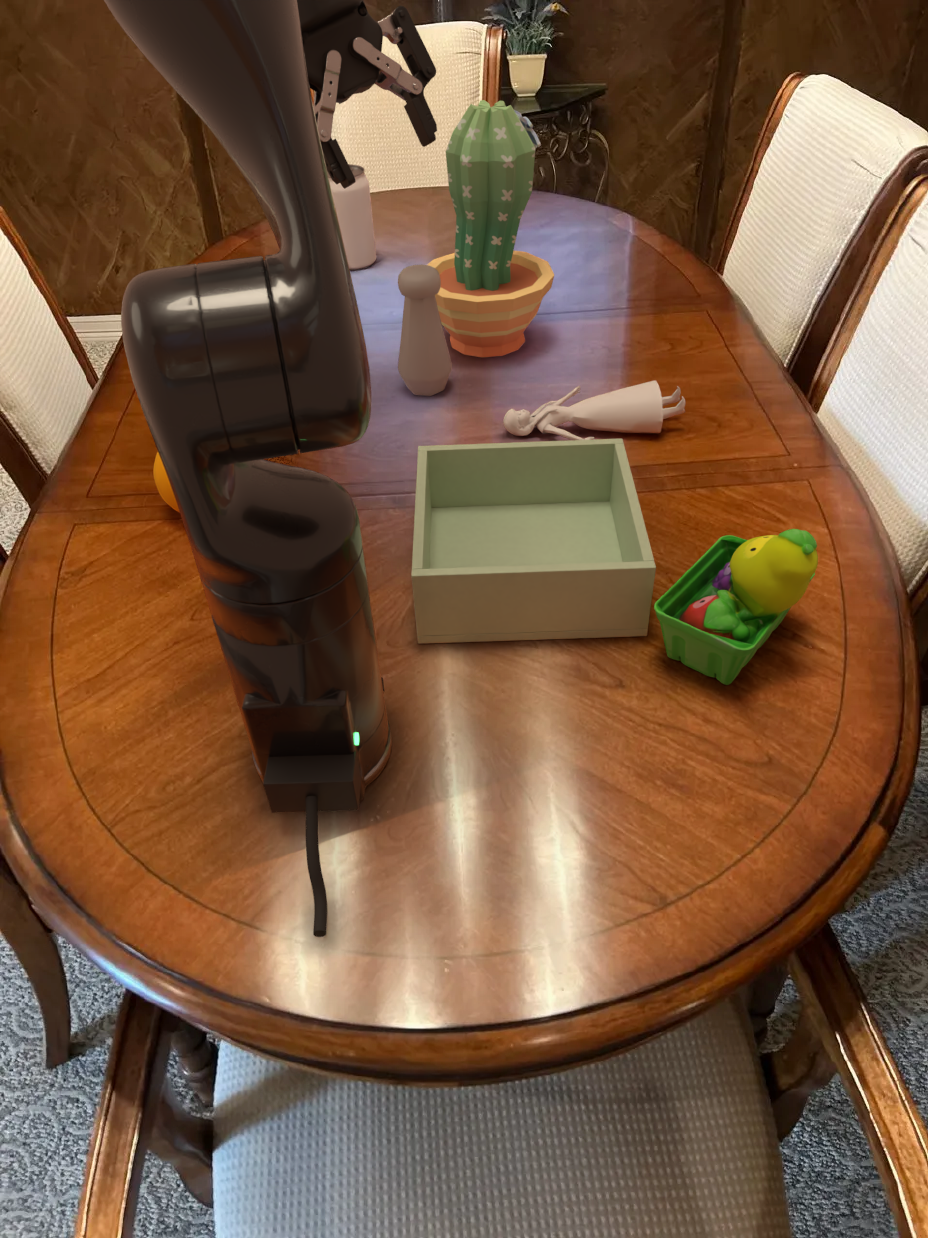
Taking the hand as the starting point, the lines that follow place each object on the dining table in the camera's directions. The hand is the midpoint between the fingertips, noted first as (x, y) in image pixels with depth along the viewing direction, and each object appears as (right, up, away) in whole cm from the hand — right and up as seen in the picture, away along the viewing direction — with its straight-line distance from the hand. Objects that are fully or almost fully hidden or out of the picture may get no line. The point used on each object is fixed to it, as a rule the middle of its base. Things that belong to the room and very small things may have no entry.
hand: (390, 164), depth 82 cm
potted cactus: (+9, -8, +27) cm, 30 cm away
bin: (+12, -36, -5) cm, 38 cm away
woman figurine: (+20, -21, +11) cm, 31 cm away
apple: (-17, -30, +4) cm, 35 cm away
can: (-9, +9, +47) cm, 48 cm away
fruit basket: (+27, -42, -12) cm, 52 cm away
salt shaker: (+2, -15, +19) cm, 24 cm away
